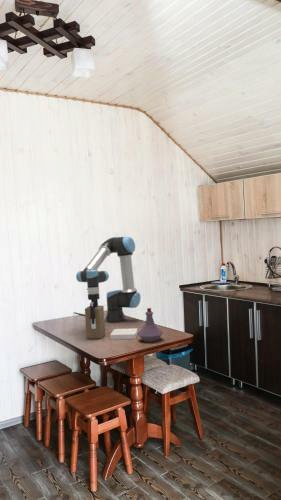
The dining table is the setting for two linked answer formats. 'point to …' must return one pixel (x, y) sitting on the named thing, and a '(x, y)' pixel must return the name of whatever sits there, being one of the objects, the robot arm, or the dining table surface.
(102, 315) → the wooden block
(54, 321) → the dining table surface
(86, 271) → the robot arm
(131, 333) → the white square plate
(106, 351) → the dining table surface
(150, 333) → the flask
